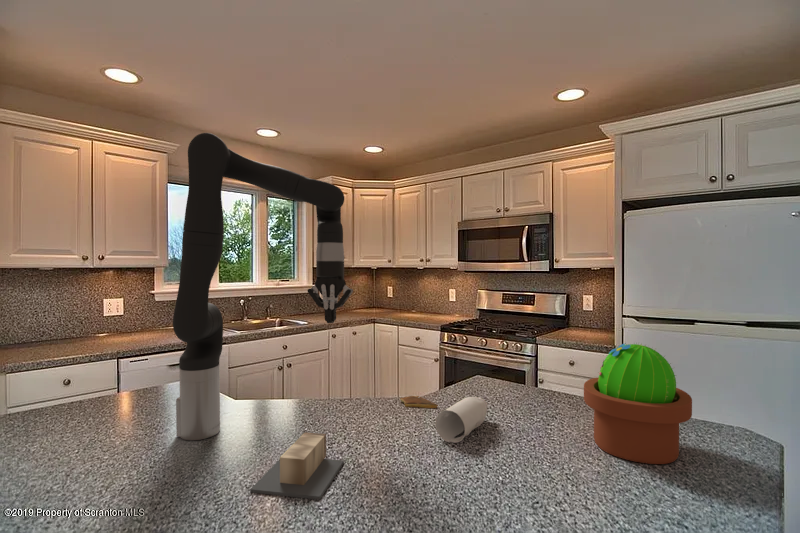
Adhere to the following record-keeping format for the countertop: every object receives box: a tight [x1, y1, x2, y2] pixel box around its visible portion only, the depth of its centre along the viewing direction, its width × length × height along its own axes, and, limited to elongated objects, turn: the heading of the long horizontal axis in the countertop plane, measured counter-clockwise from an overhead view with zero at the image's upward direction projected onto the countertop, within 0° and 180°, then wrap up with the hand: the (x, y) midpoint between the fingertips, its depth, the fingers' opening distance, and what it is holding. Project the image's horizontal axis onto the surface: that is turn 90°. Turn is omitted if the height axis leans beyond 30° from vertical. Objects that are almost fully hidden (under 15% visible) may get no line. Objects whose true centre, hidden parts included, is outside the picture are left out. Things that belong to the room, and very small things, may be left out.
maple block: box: [279, 432, 327, 485], centre depth 87 cm, size 5×5×12 cm
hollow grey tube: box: [434, 396, 489, 444], centre depth 108 cm, size 8×19×8 cm, turn 144°
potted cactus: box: [583, 342, 693, 465], centre depth 98 cm, size 22×22×25 cm
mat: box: [249, 458, 345, 501], centre depth 85 cm, size 14×14×1 cm
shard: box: [399, 395, 439, 409], centre depth 127 cm, size 11×8×2 cm
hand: (330, 322), depth 114 cm, fingers closed
